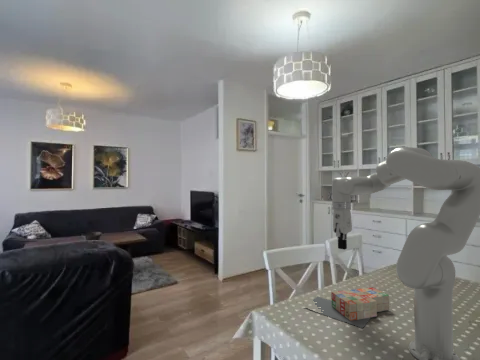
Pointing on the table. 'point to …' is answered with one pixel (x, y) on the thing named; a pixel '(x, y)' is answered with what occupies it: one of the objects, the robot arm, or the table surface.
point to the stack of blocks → (360, 302)
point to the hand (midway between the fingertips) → (342, 248)
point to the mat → (337, 312)
